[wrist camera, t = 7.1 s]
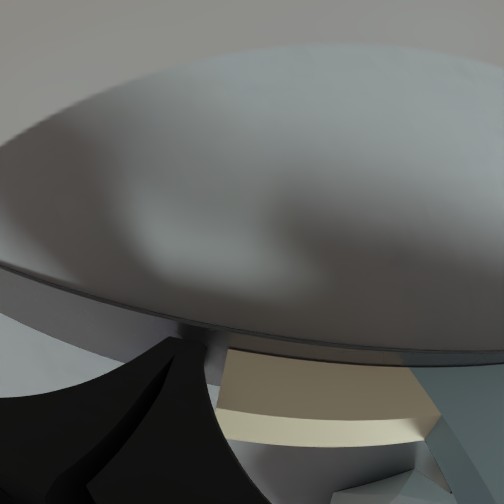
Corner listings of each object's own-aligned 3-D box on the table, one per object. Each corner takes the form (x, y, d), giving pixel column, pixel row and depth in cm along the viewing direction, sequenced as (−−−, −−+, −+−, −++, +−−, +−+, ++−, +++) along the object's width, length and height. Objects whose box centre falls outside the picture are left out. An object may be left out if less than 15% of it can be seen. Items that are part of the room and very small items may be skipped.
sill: (-18, 298, 10) (-22, 300, 10) (-24, 255, 10) (-27, 257, 9) (575, 367, 11) (577, 368, 10) (586, 343, 10) (588, 344, 10)
